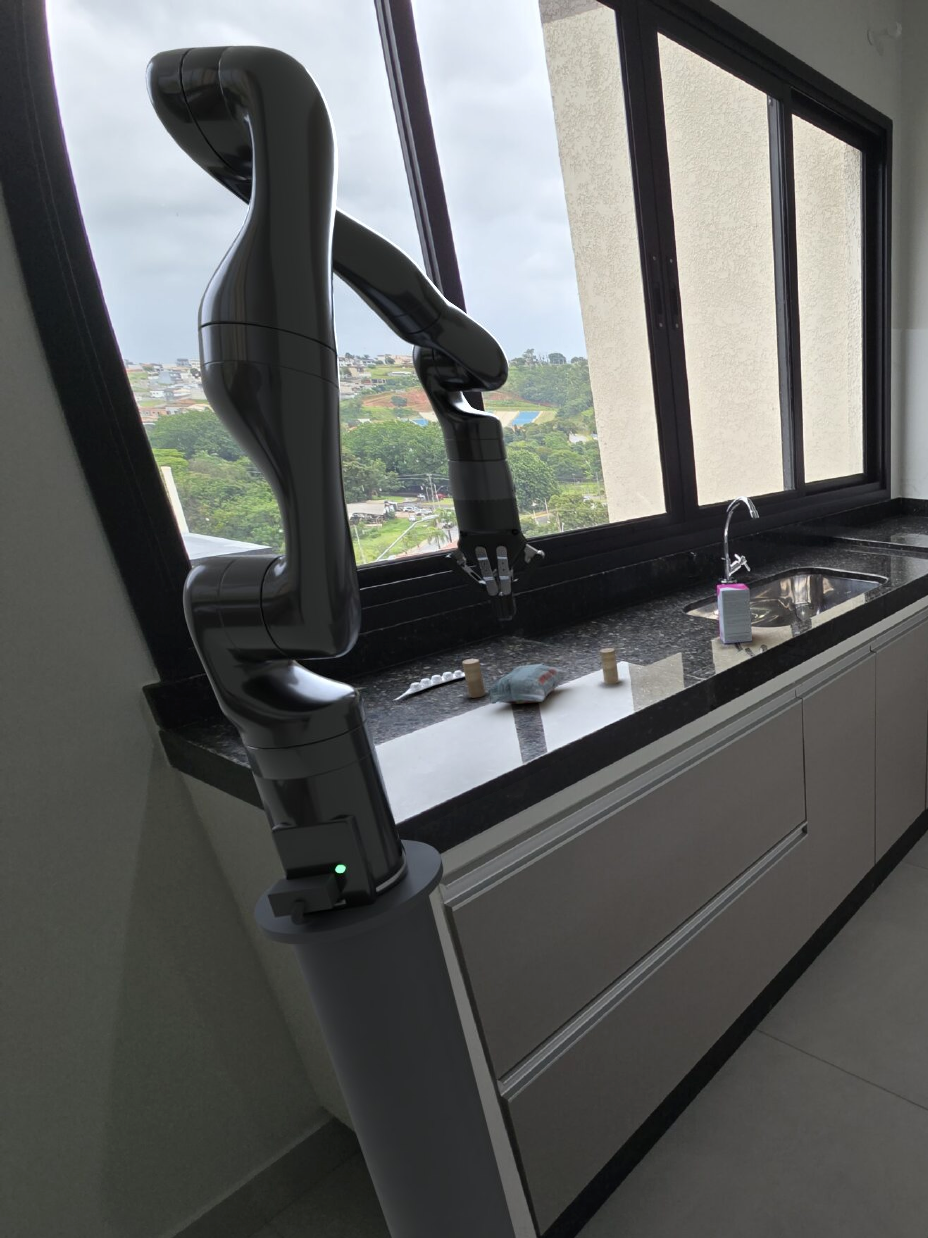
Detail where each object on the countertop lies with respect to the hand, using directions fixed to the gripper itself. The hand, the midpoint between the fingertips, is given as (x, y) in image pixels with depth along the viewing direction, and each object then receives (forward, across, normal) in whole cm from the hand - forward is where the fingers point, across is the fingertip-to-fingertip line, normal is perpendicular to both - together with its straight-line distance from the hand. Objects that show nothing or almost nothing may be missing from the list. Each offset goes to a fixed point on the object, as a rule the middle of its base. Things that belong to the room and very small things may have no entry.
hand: (506, 618), depth 105 cm
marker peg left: (+17, -10, +17) cm, 26 cm away
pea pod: (+17, -17, +23) cm, 33 cm away
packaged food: (+17, 0, +13) cm, 21 cm away
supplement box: (+17, +35, +35) cm, 52 cm away
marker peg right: (+17, +12, +17) cm, 26 cm away
